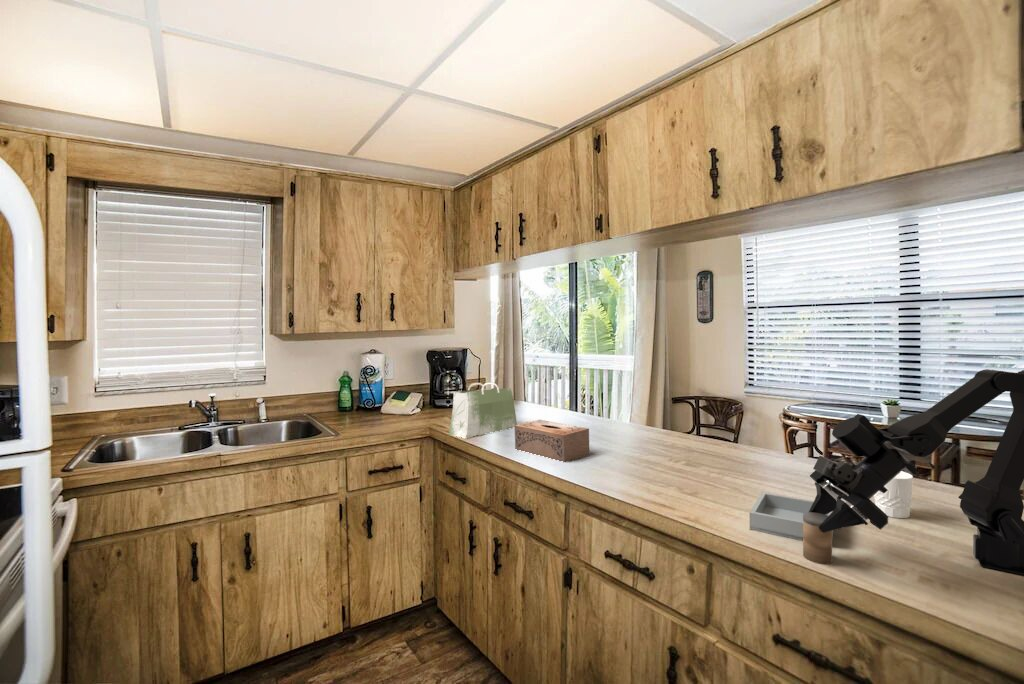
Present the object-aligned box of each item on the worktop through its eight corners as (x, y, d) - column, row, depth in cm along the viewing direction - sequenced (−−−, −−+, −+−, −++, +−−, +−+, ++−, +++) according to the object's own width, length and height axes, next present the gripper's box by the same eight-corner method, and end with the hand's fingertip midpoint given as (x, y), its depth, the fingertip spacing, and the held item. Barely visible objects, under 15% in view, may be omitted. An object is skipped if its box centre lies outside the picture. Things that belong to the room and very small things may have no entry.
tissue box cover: (589, 454, 179) (588, 428, 179) (564, 463, 170) (563, 435, 169) (540, 443, 198) (539, 419, 198) (515, 450, 189) (514, 425, 188)
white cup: (894, 506, 123) (894, 468, 122) (921, 518, 115) (921, 478, 114) (864, 507, 122) (864, 469, 122) (890, 520, 114) (890, 479, 114)
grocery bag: (498, 423, 240) (497, 377, 239) (518, 427, 230) (516, 379, 229) (447, 434, 218) (445, 384, 217) (466, 439, 208) (464, 386, 207)
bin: (835, 521, 115) (835, 504, 115) (831, 546, 102) (831, 528, 102) (762, 507, 124) (761, 492, 124) (749, 529, 112) (749, 512, 112)
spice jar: (832, 556, 98) (832, 515, 98) (831, 566, 94) (831, 524, 94) (804, 549, 101) (804, 510, 101) (801, 559, 97) (801, 518, 97)
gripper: (819, 433, 105) (766, 481, 107) (870, 457, 87) (805, 514, 89) (858, 469, 105) (804, 516, 107) (917, 500, 86) (851, 557, 88)
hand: (814, 524), depth 98 cm, fingers closed on spice jar, 5 cm apart
